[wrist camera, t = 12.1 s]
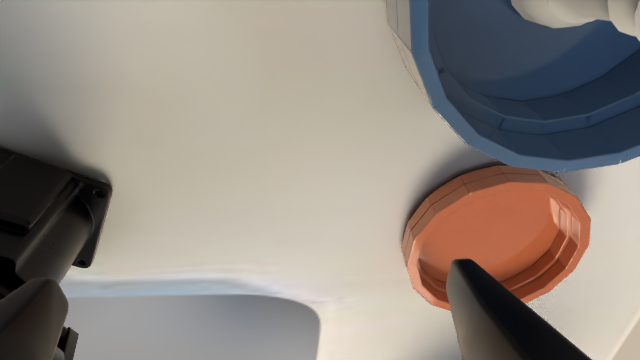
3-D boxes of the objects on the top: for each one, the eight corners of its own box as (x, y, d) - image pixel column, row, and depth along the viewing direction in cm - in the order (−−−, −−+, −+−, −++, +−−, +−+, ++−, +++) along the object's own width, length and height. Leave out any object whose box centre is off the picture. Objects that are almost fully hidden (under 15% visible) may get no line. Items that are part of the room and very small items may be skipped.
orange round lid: (493, 305, 29) (505, 329, 27) (370, 262, 26) (375, 286, 24) (607, 200, 24) (630, 222, 22) (471, 133, 21) (485, 152, 19)
